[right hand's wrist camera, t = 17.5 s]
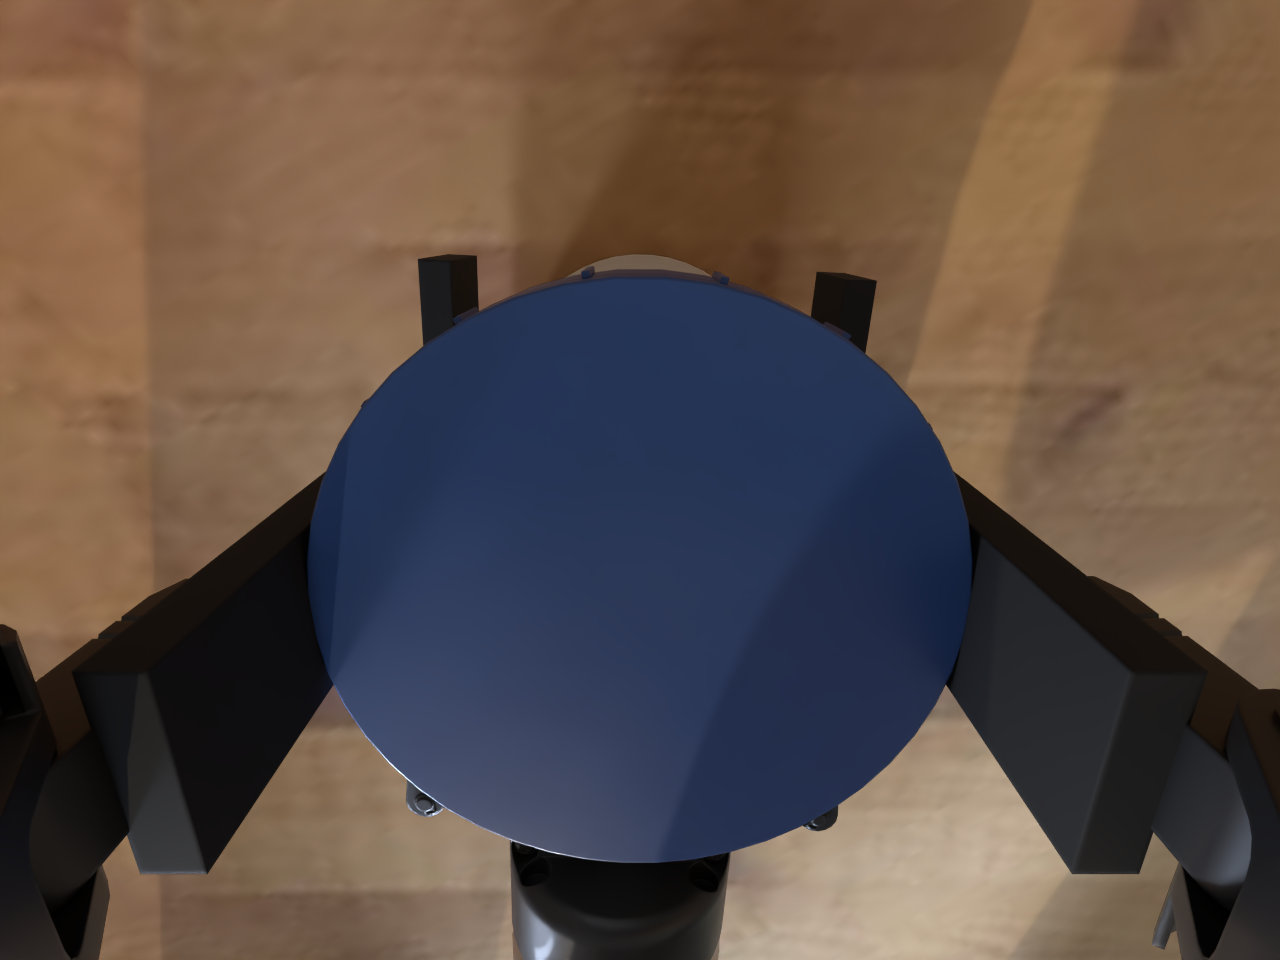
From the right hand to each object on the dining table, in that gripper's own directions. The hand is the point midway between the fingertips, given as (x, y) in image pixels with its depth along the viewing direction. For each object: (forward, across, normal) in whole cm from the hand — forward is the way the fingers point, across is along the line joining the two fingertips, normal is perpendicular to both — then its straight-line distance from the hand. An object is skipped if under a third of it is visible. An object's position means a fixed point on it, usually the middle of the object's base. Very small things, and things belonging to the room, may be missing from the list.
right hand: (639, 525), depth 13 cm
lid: (-3, 0, 0) cm, 3 cm away
